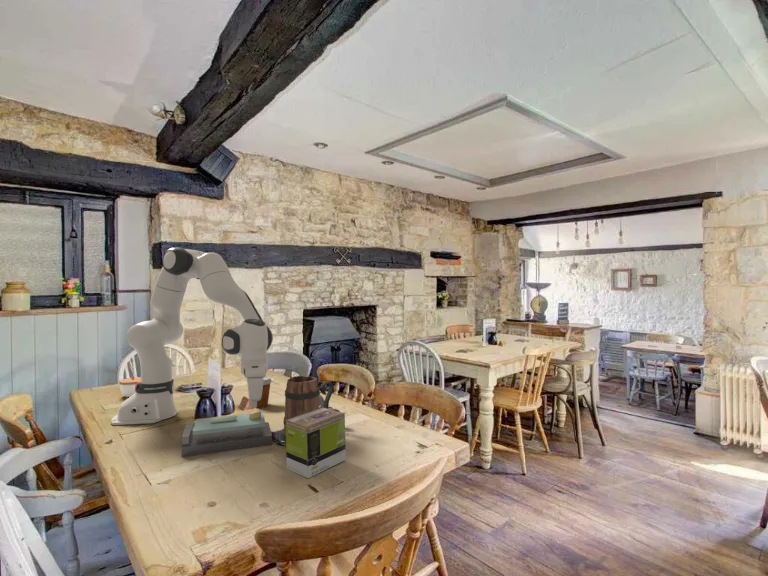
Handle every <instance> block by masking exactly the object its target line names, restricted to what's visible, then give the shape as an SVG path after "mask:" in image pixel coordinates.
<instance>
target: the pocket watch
mask: <svg viewBox="0 0 768 576" xmlns="http://www.w3.org/2000/svg"><path fill="white" fill-rule="evenodd" d="M321 394H322V393H321V391H319V409H320V408H323V407H324V402H325V397H324V396H322V395H321ZM328 409H330V410H333V409H334V408H333V407H332V406H328Z"/></svg>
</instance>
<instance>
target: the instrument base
mask: <svg viewBox="0 0 768 576" xmlns="http://www.w3.org/2000/svg"><path fill="white" fill-rule="evenodd" d="M193 428H194V424H193V423H186V425H185V427H184V430H183V433H182V437H181V457H191V456H197V455H204V454H205V455H206V454H213V453H219V452H226V451H235V450H241V449H249V448H250V449H251V448H256V447H262V446H270V445H271V446H272V445H273V434H272V429H271V426H270V423H269V422H268V421H265V427H257V428H249V429H240V430H232V431H223V432H214V433H206V434H197V435H193Z"/></svg>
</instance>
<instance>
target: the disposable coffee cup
mask: <svg viewBox="0 0 768 576" xmlns="http://www.w3.org/2000/svg"><path fill="white" fill-rule="evenodd" d="M271 383H272V379H271V376H268V375H266V376H264V380H263V390H262V397H261V400H260V401H257V407H256V408H257V409H258V408H259V409H260V408H261V409H262V408H265V407H268V405H269V398H270V389H271ZM256 408H255V409H256Z"/></svg>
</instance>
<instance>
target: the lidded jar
mask: <svg viewBox="0 0 768 576" xmlns="http://www.w3.org/2000/svg"><path fill="white" fill-rule="evenodd" d="M138 381H141V376H136V377H135V375H132V376H131V377H128V378H124V379H121V380H119V382H118V383H119V390H120V392H121V394H122V395H123V396H124V397H125V398H127V397H130V396H131V395H133V394H134V393H135V392H136V391H135V385H136V383H137V382H138Z"/></svg>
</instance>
